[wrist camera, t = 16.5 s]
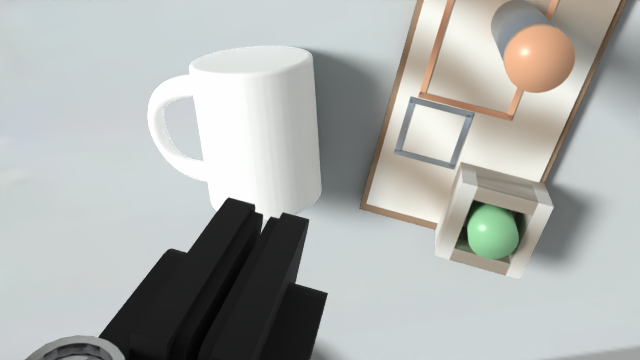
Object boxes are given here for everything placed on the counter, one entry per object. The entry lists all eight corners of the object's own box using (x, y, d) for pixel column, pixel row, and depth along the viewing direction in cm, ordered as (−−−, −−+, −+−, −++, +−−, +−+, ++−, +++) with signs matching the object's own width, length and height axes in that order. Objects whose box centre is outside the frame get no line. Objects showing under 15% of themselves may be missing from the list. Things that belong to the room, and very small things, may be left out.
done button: (474, 190, 39) (477, 212, 36) (519, 202, 38) (526, 225, 36) (460, 227, 40) (461, 251, 37) (503, 239, 40) (508, 264, 37)
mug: (323, 43, 38) (297, 73, 31) (330, 173, 42) (309, 225, 35) (163, 47, 41) (106, 75, 34) (185, 169, 45) (139, 218, 38)
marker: (498, -9, 34) (518, 20, 25) (547, 2, 33) (586, 36, 24) (482, 39, 35) (496, 84, 26) (528, 50, 35) (559, 99, 26)
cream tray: (447, -107, 33) (448, -109, 29) (648, -61, 32) (678, -57, 28) (360, 203, 43) (353, 232, 39) (512, 245, 42) (519, 279, 38)
